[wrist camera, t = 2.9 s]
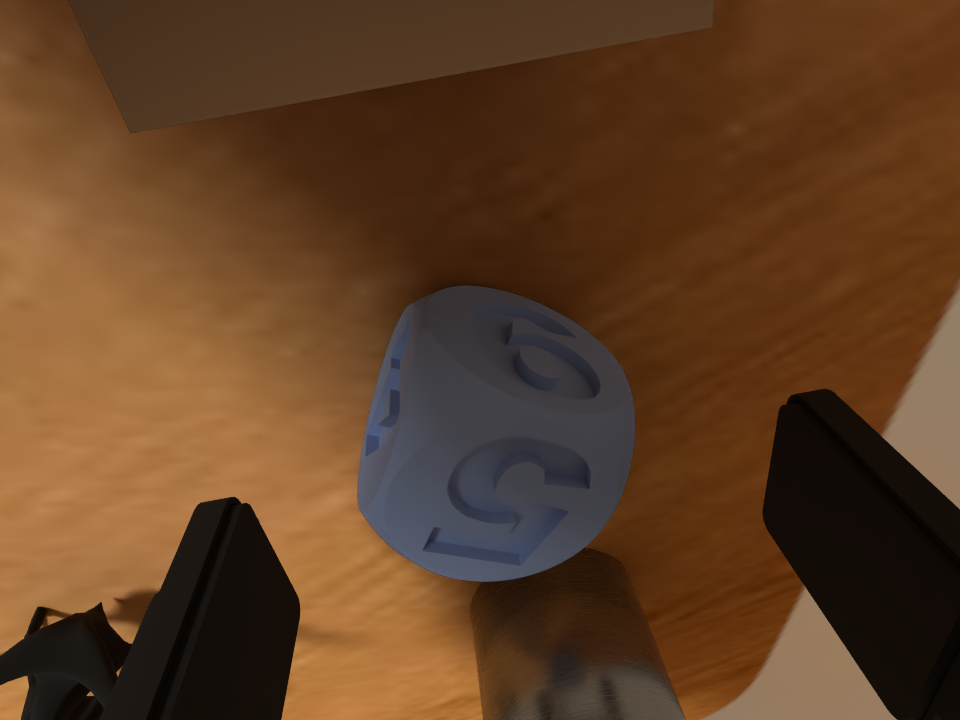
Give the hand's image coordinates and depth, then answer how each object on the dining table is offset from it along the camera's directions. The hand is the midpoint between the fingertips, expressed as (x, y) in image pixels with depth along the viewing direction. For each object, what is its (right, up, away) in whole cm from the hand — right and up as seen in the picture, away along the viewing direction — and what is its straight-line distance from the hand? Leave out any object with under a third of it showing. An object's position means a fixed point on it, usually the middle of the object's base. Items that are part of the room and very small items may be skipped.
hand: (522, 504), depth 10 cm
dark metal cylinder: (+1, -5, +7) cm, 9 cm away
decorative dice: (-1, +3, +2) cm, 4 cm away
